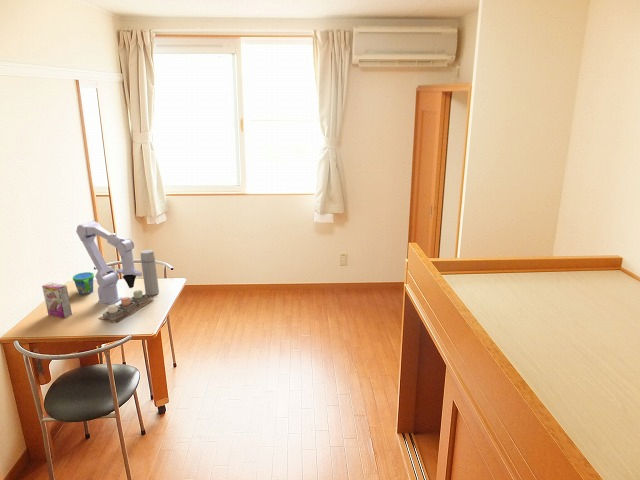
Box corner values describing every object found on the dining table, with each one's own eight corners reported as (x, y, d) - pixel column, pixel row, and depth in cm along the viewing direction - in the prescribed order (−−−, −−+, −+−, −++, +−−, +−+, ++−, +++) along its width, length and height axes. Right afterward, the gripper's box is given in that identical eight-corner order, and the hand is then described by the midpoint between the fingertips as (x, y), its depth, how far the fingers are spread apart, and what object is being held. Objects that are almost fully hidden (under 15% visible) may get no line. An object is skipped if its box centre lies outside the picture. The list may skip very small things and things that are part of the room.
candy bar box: (47, 315, 228) (41, 285, 223) (56, 311, 232) (50, 282, 227) (64, 318, 224) (58, 288, 219) (72, 314, 229) (67, 284, 224)
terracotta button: (120, 306, 231) (119, 300, 230) (126, 303, 235) (125, 296, 234) (126, 308, 230) (125, 301, 229) (132, 304, 234) (132, 297, 233)
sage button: (132, 299, 240) (131, 293, 238) (138, 296, 243) (137, 290, 242) (139, 300, 238) (138, 294, 237) (144, 297, 242) (143, 291, 241)
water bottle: (162, 292, 254) (157, 250, 246) (150, 297, 247) (145, 254, 240) (151, 288, 258) (146, 247, 251) (140, 293, 252) (134, 251, 244)
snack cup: (98, 294, 251) (95, 278, 248) (77, 299, 246) (73, 282, 243) (94, 285, 264) (91, 269, 260) (74, 289, 258) (71, 273, 255)
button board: (98, 318, 224) (97, 313, 223) (135, 297, 247) (134, 292, 246) (117, 322, 220) (116, 317, 219) (153, 300, 243) (152, 295, 242)
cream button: (106, 314, 223) (105, 307, 222) (113, 310, 227) (112, 303, 226) (113, 315, 222) (112, 308, 221) (120, 312, 226) (119, 305, 225)
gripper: (110, 264, 229) (114, 288, 233) (134, 267, 225) (137, 292, 229) (120, 259, 236) (124, 283, 240) (143, 262, 231) (146, 286, 235)
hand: (131, 287), depth 235 cm, fingers closed
